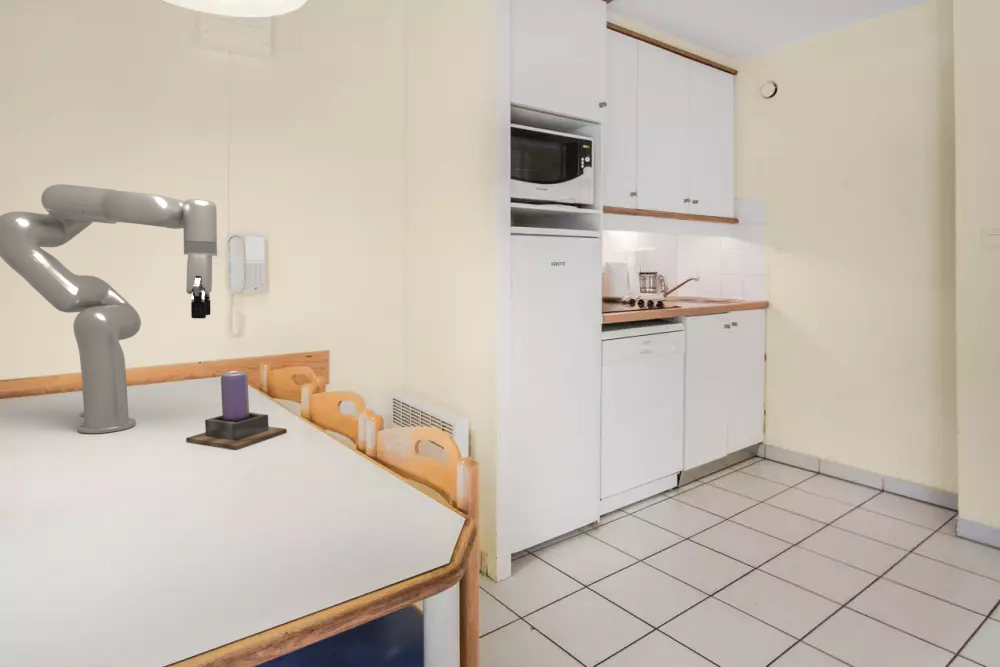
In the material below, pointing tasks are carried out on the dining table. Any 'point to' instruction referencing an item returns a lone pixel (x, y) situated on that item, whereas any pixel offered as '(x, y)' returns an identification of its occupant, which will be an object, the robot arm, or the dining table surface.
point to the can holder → (236, 432)
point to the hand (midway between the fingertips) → (201, 316)
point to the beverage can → (235, 396)
